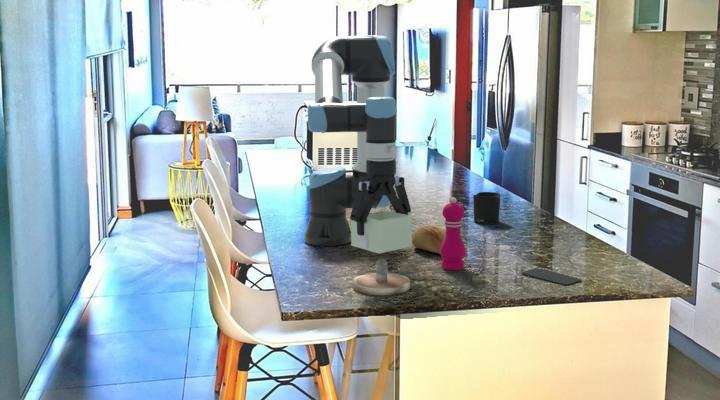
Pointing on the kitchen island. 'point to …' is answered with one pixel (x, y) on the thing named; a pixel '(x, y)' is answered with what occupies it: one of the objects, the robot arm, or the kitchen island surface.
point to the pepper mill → (453, 237)
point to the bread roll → (429, 238)
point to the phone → (551, 276)
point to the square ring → (385, 231)
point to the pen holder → (486, 207)
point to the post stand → (381, 281)
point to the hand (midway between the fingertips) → (381, 243)
